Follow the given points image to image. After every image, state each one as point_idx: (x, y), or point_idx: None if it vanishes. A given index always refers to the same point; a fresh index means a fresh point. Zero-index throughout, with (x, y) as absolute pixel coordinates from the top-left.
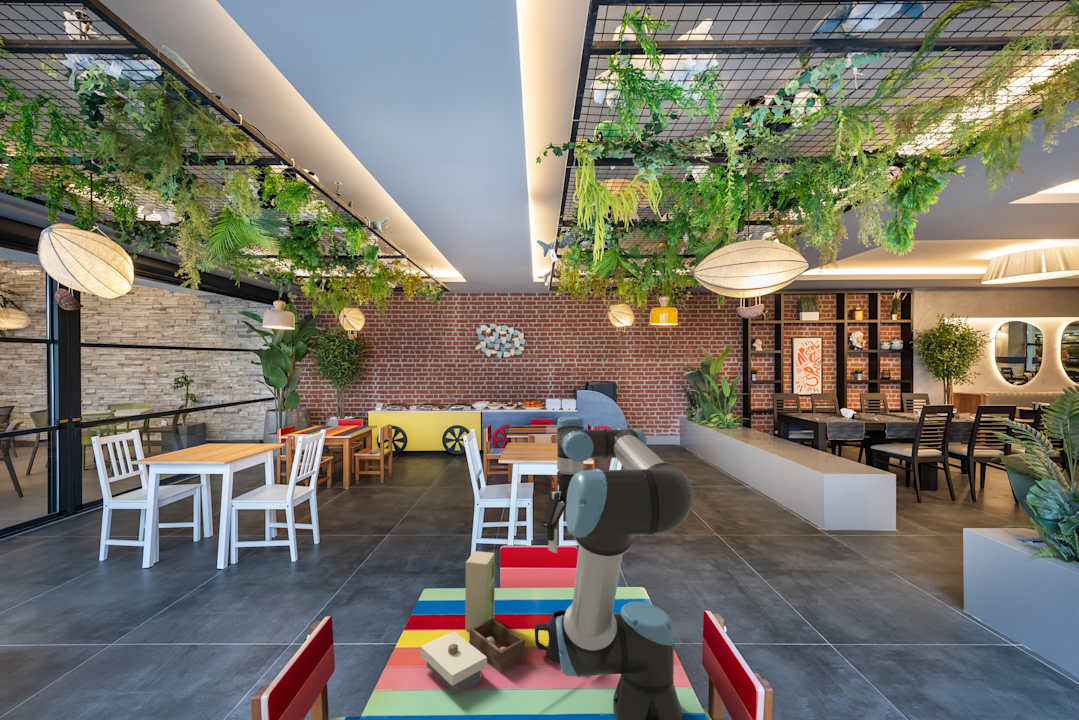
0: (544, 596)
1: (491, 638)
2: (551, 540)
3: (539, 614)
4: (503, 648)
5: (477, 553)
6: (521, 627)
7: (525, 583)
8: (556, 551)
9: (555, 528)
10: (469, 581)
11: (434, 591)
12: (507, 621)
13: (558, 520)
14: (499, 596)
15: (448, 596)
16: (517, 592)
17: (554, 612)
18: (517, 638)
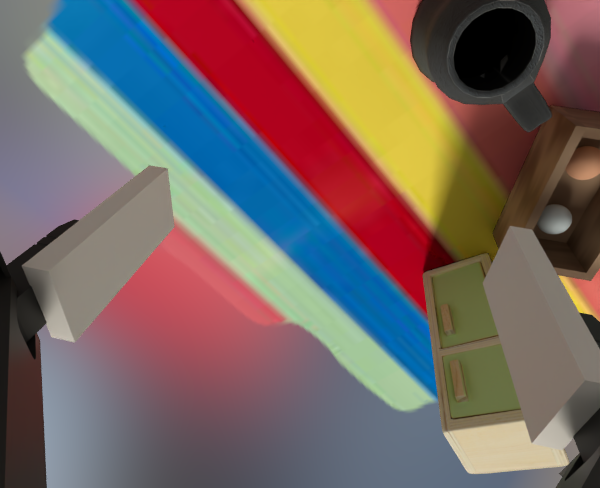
0: (255, 242)
1: (559, 221)
2: (588, 317)
3: (328, 207)
4: (595, 167)
5: (481, 464)
6: (406, 208)
7: (246, 302)
8: (522, 231)
9: (582, 396)
10: None
11: (402, 408)
12: (405, 248)
13: (596, 479)
14: (330, 315)
15: (400, 383)
16: (288, 296)
17: (487, 95)
18: (572, 151)
